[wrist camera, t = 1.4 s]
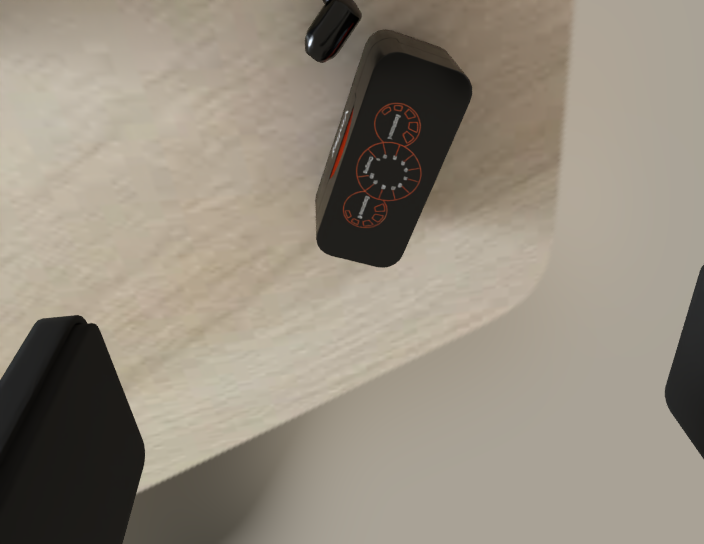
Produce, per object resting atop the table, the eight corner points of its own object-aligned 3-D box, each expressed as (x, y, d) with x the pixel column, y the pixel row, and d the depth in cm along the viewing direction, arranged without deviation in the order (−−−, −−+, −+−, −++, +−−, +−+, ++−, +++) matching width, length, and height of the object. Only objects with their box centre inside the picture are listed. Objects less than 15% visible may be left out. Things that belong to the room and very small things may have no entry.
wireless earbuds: (465, 22, 18) (493, 48, 15) (384, 222, 22) (395, 271, 19) (317, -31, 17) (319, -14, 14) (258, 188, 21) (251, 236, 18)
